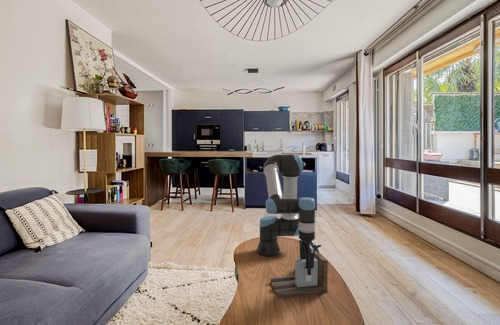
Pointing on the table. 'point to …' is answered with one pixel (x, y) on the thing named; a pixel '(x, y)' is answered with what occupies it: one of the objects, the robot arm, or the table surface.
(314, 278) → the pale grey rectangular block
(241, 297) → the table surface
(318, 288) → the track sill
